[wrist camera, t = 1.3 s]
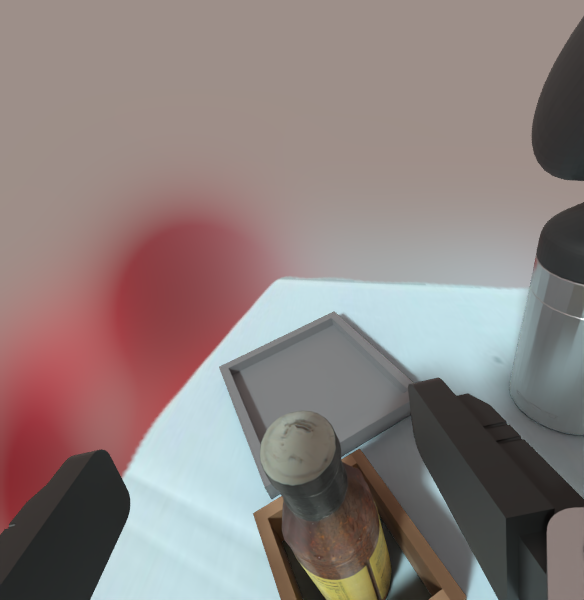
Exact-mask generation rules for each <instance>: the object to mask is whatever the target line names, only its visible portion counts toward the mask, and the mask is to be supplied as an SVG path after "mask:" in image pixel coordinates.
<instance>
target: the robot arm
mask: <svg viewBox="0 0 584 600" xmlns="http://www.w3.org/2000/svg"><path fill="white" fill-rule="evenodd" d="M532 146H533V151H534V155H535V156H536V159H537V161H538V163H539V164H540V165H541V167H542V168H543V169H544V170H545V171H546V172H548V173H550V174H551V175H552V176H555V177H558V178H561V179H565V180H578V181H584V17H583V18H582V19H581V21H580V22H579V24H578V26H577V27H576V28H575V30H574V32H573V33H572V34H571V36H570V38H569V39H568V41H567V43H566V44H565V46H564V48H563V49H562V51H561V53H560V54H559V56H558V58H557V60H556V61H555V63H554V65H553V67H552V69H551V71H550V73H549V75H548V78H547V80H546V82H545V84H544V86H543V89H542V92H541V95H540V97H539V100H538V103H537V107H536V111H535V115H534V119H533V126H532ZM509 390H510V394H511V397H512V399H513V400H514V402H515V404H516V405H517V406H518V407H519V408H520V410H521V411H523V412H524V413H525V414H526V415H527V416H528V417H530V418H531V419H533V420H535V421H536V422H538V423H539V424H541V425H544V426H546V427H548V428H550V429H553V430H556V431H559V432H562V433H567V434H573V435H584V202H583V203H581V204H578V205H576V206H574V207H571V208H569V209H567V210H565V211H562V212H560V213H559V214H557V215H555V216H554V217H553V218H551V219H550V220H549V221H548V222H547V223H546V224H545V226H544V227H543V230H542V231H541V234H540V238H539V243H538V248H537V253H536V258H535V263H534V269H533V273H532V278H531V283H530V288H529V293H528V298H527V303H526V307H525V312H524V317H523V322H522V326H521V331H520V336H519V341H518V346H517V350H516V355H515V359H514V364H513V369H512V374H511V379H510V385H509ZM408 394H409V402H410V410H411V418H412V425H413V433H414V438H415V441H416V445H417V448H418V450H419V453H420V455H421V457H422V459H423V461H424V463H425V465H426V467H427V469H428V470H429V472H430V474H431V476H432V478H433V480H434V482H435V483H436V485H437V487H438V489H439V491H440V493H441V494H442V496H443V498H444V500H445V502H446V504H447V505H448V507H449V509H450V511H451V513H452V515H453V517H454V518H455V520H456V522H457V524H458V526H459V528H460V529H461V531H462V533H463V535H464V537H465V539H466V541H467V542H468V544H469V546H470V548H471V550H472V552H473V553H474V555H475V557H476V559H477V561H478V563H479V565H480V566H481V568H482V570H483V572H484V574H485V576H486V577H487V579H488V581H489V583H490V585H491V587H492V588H493V590H494V592H495V594H496V596H497V598H498V600H584V499H583V498H582V497H581V496H580V495H579V494H578V493H577V492H576V491H575V490H574V489H573V488H572V487H571V486H570V485H569V484H568V483H567V482H566V481H565V480H564V479H563V478H562V477H561V476H560V475H559V474H558V473H557V472H556V471H555V470H554V469H553V468H552V467H551V466H550V465H549V464H548V463H547V462H546V461H545V460H544V459H543V458H542V457H541V456H540V455H539V454H538V453H537V452H536V451H535V450H534V449H533V448H532V447H531V446H530V445H529V444H528V443H527V442H526V441H525V440H522V439H521V437H520V435H519V434H518V433H517V432H516V431H515V430H514V429H513V428H512V427H511V426H510V425H507V423H506V421H505V420H504V419H503V418H502V417H501V416H500V415H499V414H498V413H497V412H496V411H495V410H494V409H493V408H492V407H491V406H490V405H489V404H487V403H485V402H483V401H481V400H479V399H477V398H475V397H473V396H472V395H470V394H463V395H459V396H456V395H455V394H454V393H453V392H452V391H451V390H450V388H449V387H448V386H447V385H446V384H445V383H444V382H443V380H442V379H440V378H435V379H430V380H425V381H421V382H416V383H412V384H409V385H408ZM129 511H130V496H129V492H128V490H127V488H126V486H125V484H124V482H123V480H122V478H121V476H120V474H119V472H118V470H117V468H116V466H115V464H114V463H113V460H112V459H111V457H110V455H109V453H108V452H107V451H105V450H97V451H92V452H88V453H83V454H78V455H74V456H71V457H69V458H68V459H67V460H66V461H65V462H64V463H63V465H62V466H61V467H60V469H59V470H58V471H57V472H56V474H55V475H54V476H53V478H52V479H51V480H50V481H49V483H48V484H47V485H46V486H45V487H43V488H42V489H41V490H40V491H39V492H38V493H37V494H36V495H34V496H33V497H32V498H31V499H30V500H29V501H28V502H27V503H26V504H25V505H24V506H23V508H22V509H21V510H20V511H19V513H18V514H17V515H16V516H15V518H14V519H13V520H12V521H11V522H10V524H9V528H8V529H5V530H4V531H3V532H2V534H1V535H0V600H90V599H91V597H92V595H93V592H94V590H95V588H96V586H97V584H98V582H99V579H100V577H101V575H102V573H103V571H104V569H105V566H106V564H107V562H108V560H109V558H110V556H111V553H112V551H113V549H114V547H115V545H116V543H117V540H118V538H119V536H120V534H121V532H122V530H123V527H124V525H125V523H126V521H127V518H128V515H129Z"/></svg>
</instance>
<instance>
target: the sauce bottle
mask: <svg viewBox="0 0 584 600" xmlns="http://www.w3.org/2000/svg"><path fill="white" fill-rule="evenodd" d="M260 461H261V465H262V468H263V470H264V472H265V474H266V476H267V478H268V479H269V481H270V483H271V484H272V485H273V486H274V488H275V489H276V490H278V491H279V492H280V493H281V495H282V498H283V509H282V533H283V537H284V539H285V541H286V543H287V544H288V545H289V546H290V548H291V549H292V551H293V553H294V555H295V557H296V559H297V560H298V561H299V563H300V564H301V566H302V567H303V568H304V570H305V571H306V572H307V574H308V575H309V576H310V578H311V579H312V581H313V582H314V583H315V585H316V586H317V587H318V589H319V590H320V592H321V593H322V595H323V596H324V597H325V599H326V600H385V599H386V597H387V594H388V590H389V587H390V580H391V572H392V571H391V562H390V557H389V553H388V549H387V545H386V541H385V537H384V534H383V530H382V526H381V522H380V518H379V514H378V510H377V507H376V504H375V502H374V500H373V496H372V495H371V492H370V490H369V487H368V484H367V483H366V481H365V480H364V478H363V475H362V473H361V471H360V470H359V469H358V468H354V467H352V466H350V465H347V464H345V463H344V462H342V461H341V446H340V442H339V439H338V437H337V435H336V433H335V431H334V429H333V427H332V424H330V423H329V422H328V420H327V419H326V418H324V417H323V416H321V415H319V414H318V413H315V412H312V411H296V412H292V413H288V414H285V415H284V416H282V417H279V418H278V419H277V420H275V421H274V422H273V423H272V424H271V425H270V427H269V428H268V429H267V431H266V433H265V435H264V437H263V439H262V441H261V446H260Z"/></svg>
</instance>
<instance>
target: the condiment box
mask: <svg viewBox="0 0 584 600" xmlns="http://www.w3.org/2000/svg"><path fill="white" fill-rule="evenodd" d="M341 461H342V462H344V463H345V464H347V465H350V466H352V467H354V468H358V469H359V470H360V471H361V473H362V475H363V478H364V480H365V481H366V483H367V484H368V487H369V490H370V492H371V495H372V496H373V500H374V502H375V504H376V507H377V510H378V514H379V516H380V517H381V519H382V520H383V522H384V523H385V525H386V526H387V528H388V529H389V531H390V533H391V534H392V536H393V537H394V539H395V540H396V542H397V543H398V545H399V546H400V548H401V550H402V551H403V553H404V554H405V556H406V557H407V559H408V560H409V562H410V563H411V565H412V567H413V568H414V570H415V571H416V573H417V574H418V576H419V577H420V579H421V580H422V582H423V584H424V585H425V587H426V588H427V590H428V591H429V593H430V594H431V596H432V597H431V598H430V599H429V600H466V598H467V597H466V595H465V594H464V593H463V591H462V590H461V588H460V587H459V586H458V584H457V583H456V581H455V580H454V579H453V577H452V576H451V575H450V573H449V572H448V570H447V569H446V568H445V566H444V565H443V563H442V562H441V561H440V559H439V558H438V556H437V555H436V554H435V552H434V551H433V550H432V548H431V547H430V545H429V544H428V543H427V541H426V540H425V538H424V537H423V536H422V534H421V533H420V531H419V530H418V529H417V527H416V526H415V525H414V523H413V522H412V520H411V519H410V518H409V516H408V515H407V513H406V512H405V511H404V509H403V508H402V507H401V505H400V504H399V502H398V501H397V500H396V498H395V497H394V495H393V494H392V493H391V491H390V490H389V488H388V487H387V486H386V484H385V483H384V482H383V480H382V479H381V477H380V476H379V475H378V473H377V472H376V470H375V469H374V468H373V466H372V465H371V463H370V462H369V461H368V459H367V458H366V457H365V455H364V454H363V452H362V451H361V450H360V449H358V450H356V451H355V452H353V453H351V454H350V455H348V456H347V457H345V458H343V459H342V460H341ZM282 509H283V498H282V496H281V497H279V498H278V499H276V500H274V501H273V502H271V503H269V504H268V505H266V506H265V507H263V508H261V509H260V510H258V511H256V512H255V513H253V515H254V518H255V521H256V524H257V527H258V530H259V533H260V536H261V539H262V543H263V546H264V549H265V552H266V555H267V558H268V561H269V564H270V567H271V570H272V573H273V576H274V580H275V583H276V586H277V589H278V592H279V595H280V598H281V600H303V597H302V595H301V592H300V589H299V586H298V584H297V581H296V578H295V576H294V573H293V570H292V568H291V565H290V562H289V560H288V557H287V554H286V551H285V549H284V546H283V543H282V542H283V541H284V540H285V539H284V537H283V533H282Z"/></svg>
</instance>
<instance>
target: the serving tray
mask: <svg viewBox="0 0 584 600" xmlns="http://www.w3.org/2000/svg"><path fill="white" fill-rule="evenodd" d="M219 368H220V371H221V373H222V376H223V379H224V381H225V384H226V386H227V389H228V392H229V394H230V397H231V400H232V402H233V405H234V408H235V410H236V413H237V415H238V418H239V421H240V423H241V426H242V429H243V431H244V434H245V436H246V439H247V442H248V444H249V447H250V450H251V452H252V455H253V457H254V460H255V463H256V465H257V468H258V471H259V473H260V476H261V479H262V481H263V484H264V486H265V489H266V490H267V492H268V494H269V496H270V498H271V499H273V498H274V497H276V496H278V495H279V494H281V493H280V492H279V491H278V490H276V489H275V488H274V486H273V485H272V484H271V483H270V481H269V479H268V478H267V476H266V474H265V472H264V470H263V468H262V465H261V461H260V446H261V441H262V439H263V437H264V435H265V433H266V431H267V429H268V428H269V427H270V425H271V424H272V423H273V422H274V421H275V420H277V419H278V418H279V417H282V416H284V415H285V414H288V413H292V412H296V411H312V412H315V413H318V414H319V415H321V416H323V417H324V418H326V419H327V420H328V422H329V423H330V424H332V427H333V429H334V431H335V433H336V435H337V437H338V439H339V442H340V446H341V457H342V456H344V455H345V454H347V453H349V452H350V451H352V450H353V449H355V448H357V447H358V446H360V445H362V444H363V443H365V442H367V441H368V440H370V439H372V438H373V437H375V436H376V435H378V434H380V433H381V432H383V431H385V430H386V429H388V428H390V427H391V426H393V425H395V424H396V423H398V422H400V421H401V420H403V419H404V418H406V417H408V416H409V415H411V410H410V402H409V394H408V385H409V384H412V383H414V382H413V381H411V380H410V379H409V378H408V377H407V376H406V375H405V374H404V373H402V372H401V371H400V370H399V369H398V368H397V367H396V366H395V365H394V364H392V363H391V362H390V361H389V360H388V359H387V358H386V357H385V356H383V355H382V354H381V353H380V352H379V351H378V350H377V349H376V348H375V347H373V346H372V345H371V344H370V343H369V342H368V341H367V340H366V339H365V338H363V337H362V336H361V335H360V334H359V333H358V332H357V331H356V330H354V329H353V328H352V327H351V326H350V325H349V324H348V323H347V322H346V321H344V320H343V319H342V318H341V317H340V316H339V315H338V314H337V313H335V312H332V313H330V314H328V315H326V316H324V317H321V318H319V319H317V320H315V321H313V322H311V323H309V324H307V325H305V326H303V327H301V328H299V329H297V330H295V331H292V332H290V333H288V334H286V335H284V336H282V337H280V338H278V339H276V340H274V341H272V342H270V343H268V344H266V345H264V346H261V347H259V348H257V349H255V350H253V351H251V352H249V353H247V354H245V355H243V356H241V357H239V358H237V359H235V360H233V361H230V362H228V363H226V364H224V365H222V366H220V367H219Z"/></svg>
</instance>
